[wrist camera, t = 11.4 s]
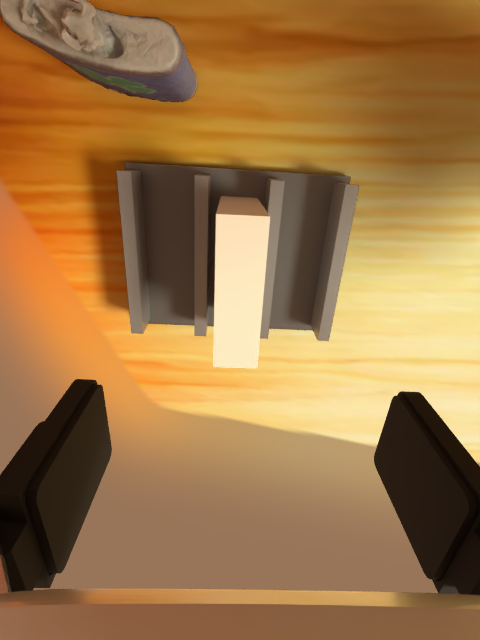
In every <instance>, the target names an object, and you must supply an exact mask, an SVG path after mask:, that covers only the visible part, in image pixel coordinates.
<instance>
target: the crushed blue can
mask: <svg viewBox="0 0 480 640" xmlns="http://www.w3.org/2000/svg"><path fill="white" fill-rule="evenodd" d="M75 1H77V2H75ZM75 1H73V0H0V15H1V17H2V19H3V21H4V22H5V24H6V25H7V26H9V27H10V28H11V29H12V31H13V32H15V33H17V34H19V35H20V36H21V37H23V38H24V39H26V40H28V41H30V42H31V43H33V44H35V45H36V46H38V47H40V48H41V49H43V50H45V51H46V52H48V53H49V54H51V55H52V56H54V57H56V58H57V59H59V60H61V61H62V62H64V63H66V64H67V65H69V66H70V67H72V68H73V69H74V70H76V71H77V72H78V73H79V74H81V75H82V76H84V77H86V78H87V79H89V80H90V81H92V82H95V83H97V84H99V85H101V86H103V87H105V88H107V89H111V90H113V91H115V92H118V93H120V94H122V93H123V94H126V95H128V96H137V97H141V98H148V99H153V100H159V101H164V102H167V101H169V102H183V101H186V100H188V99H190V98H191V97H193V95H194V94H195V92H196V88H197V77H196V74H195V72H194V70H193V68H192V67H191V64H190V62H189V60H188V58H187V55H186V53H185V48H184V44H183V42H182V41H181V39H180V36H179V34H178V33H177V31H176V29H175V28H174V27H173V26H172V25H171V24H169V23H167V22H166V21H163V20H160V19H159V18H157V17H138V16H126V15H121V14H117V13H112V12H111V11H106V10H101V9H98V8H94V6H93V5H92V4H91V3H89V2H87V1H85V0H75Z"/></svg>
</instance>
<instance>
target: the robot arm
mask: <svg viewBox="0 0 480 640" xmlns="http://www.w3.org/2000/svg"><path fill="white" fill-rule="evenodd" d="M111 450H112V448H111V440H110V433H109V427H108V421H107V413H106V407H105V400H104V392H103V387H102V385H97V382H96V380H84V379H76V380H75V381H74V382H73V383H72V384H71V386H70V387H69V389H68V390H67V391H66V393H65V394H64V395H63V397H62V398H61V400H60V401H59V402H58V404H57V405H56V406H55V408H54V409H53V411H52V412H51V413H50V415H49V416H48V418H47V419H46V420H45V421H43V422H41V423H39V424H38V425H37V426H36V427H35V429H34V430H33V432H32V433H31V434H30V435H29V437H28V438H27V440H26V441H25V442H24V444H23V445H22V446H21V448H20V449H19V450H18V452H17V453H16V454H15V456H14V457H13V458H12V460H11V461H10V463H9V464H8V465H7V467H6V468H5V469H4V471H3V472H2V473H1V475H0V640H480V467H479V465H478V464H477V463H476V462H475V460H474V459H473V458H472V457H471V455H470V454H469V453H468V452H467V450H466V449H465V448H464V447H463V445H462V444H461V443H460V442H459V440H458V439H457V438H456V436H455V435H454V434H453V433H452V431H451V430H450V429H449V428H448V426H447V425H446V424H445V423H444V421H443V420H442V419H441V418H440V416H439V415H438V414H437V413H436V411H435V410H434V409H433V408H432V406H431V405H430V404H429V403H428V401H427V400H426V399H425V398H424V396H423V395H422V394H421V393H419V392H399V393H398V395H397V396H394V397H393V399H392V401H391V405H390V408H389V411H388V414H387V417H386V420H385V423H384V427H383V430H382V433H381V436H380V439H379V442H378V445H377V449H376V452H375V456H374V463H375V466H376V469H377V471H378V473H379V476H380V478H381V480H382V482H383V484H384V486H385V489H386V491H387V493H388V495H389V497H390V500H391V502H392V504H393V506H394V508H395V510H396V513H397V515H398V517H399V519H400V521H401V524H402V526H403V528H404V530H405V532H406V534H407V537H408V539H409V541H410V543H411V545H412V548H413V550H414V552H415V554H416V556H417V558H418V560H419V563H420V565H421V567H422V569H423V571H424V573H425V575H426V576H427V578H429V579H432V580H433V582H434V584H435V587H436V589H437V591H438V593H405V592H358V591H357V592H356V591H353V592H352V591H300V590H299V591H298V590H295V591H294V590H228V589H226V590H225V589H224V590H223V589H48V590H33V588H50V586H51V584H52V582H53V579H54V577H55V575H56V573H61V572H62V571H63V570H64V568H65V566H66V564H67V561H68V559H69V556H70V554H71V551H72V549H73V546H74V544H75V542H76V539H77V537H78V534H79V532H80V530H81V527H82V525H83V522H84V520H85V518H86V515H87V513H88V510H89V508H90V506H91V503H92V501H93V498H94V496H95V493H96V491H97V489H98V486H99V484H100V481H101V479H102V477H103V474H104V472H105V469H106V467H107V464H108V462H109V460H110V456H111Z"/></svg>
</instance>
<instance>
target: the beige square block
mask: <svg viewBox="0 0 480 640" xmlns="http://www.w3.org/2000/svg"><path fill="white" fill-rule="evenodd" d="M269 226H270V215H269V214H268V213H267V211H266V210H265V208H264V207H263V205H262V204H261V202H260V201H259V199H258V198H249V197H229V196H221V198H220V201H219V205H218V209H217V212H216V242H215V295H214V349H213V367H228V368H257V366H258V354H259V342H260V331H261V319H262V308H263V296H264V284H265V273H266V261H267V249H268V238H269Z"/></svg>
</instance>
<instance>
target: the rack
mask: <svg viewBox="0 0 480 640" xmlns="http://www.w3.org/2000/svg"><path fill="white" fill-rule="evenodd" d="M124 164H125V170H119V171H117V182H118V193H119V204H120V215H121V226H122V236H123V247H124V258H125V269H126V280H127V291H128V302H129V313H130V324H131V333H138V334H143V333H144V331H145V329H146V327H147V325H148V324H170V325H195V336H206V333H207V326H214V295H215V242H216V212H217V209H218V205H219V201H220V198H221V196H229V197H249V198H258V199H259V201H260V202H261V204H262V205H263V207H264V208H265V210H266V211H267V213H268V214H269V215H270V226H269V238H268V249H267V261H266V273H265V284H264V296H263V308H262V319H261V331H260V338H265V339H268V333H269V329H293V330H313V332H314V334H315V336H316V338H317V340H318V341H329V337H330V332H331V327H332V322H333V317H334V312H335V307H336V302H337V297H338V291H339V286H340V281H341V276H342V271H343V266H344V261H345V256H346V251H347V246H348V240H349V235H350V230H351V225H352V220H353V215H354V210H355V205H356V200H357V195H358V190H359V186H358V185H353V184H349V183H350V178H351V177H350V176H338V175H322V174H306V173H290V172H274V171H258V170H242V169H226V168H210V167H195V166H179V165H163V164H147V163H131V162H124Z"/></svg>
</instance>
